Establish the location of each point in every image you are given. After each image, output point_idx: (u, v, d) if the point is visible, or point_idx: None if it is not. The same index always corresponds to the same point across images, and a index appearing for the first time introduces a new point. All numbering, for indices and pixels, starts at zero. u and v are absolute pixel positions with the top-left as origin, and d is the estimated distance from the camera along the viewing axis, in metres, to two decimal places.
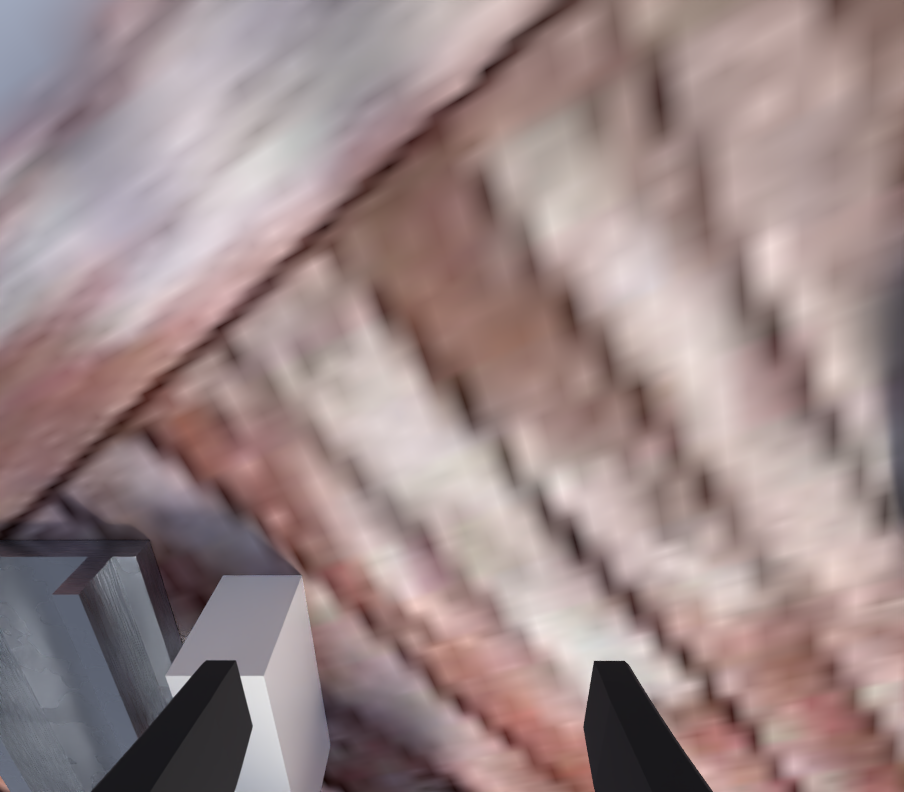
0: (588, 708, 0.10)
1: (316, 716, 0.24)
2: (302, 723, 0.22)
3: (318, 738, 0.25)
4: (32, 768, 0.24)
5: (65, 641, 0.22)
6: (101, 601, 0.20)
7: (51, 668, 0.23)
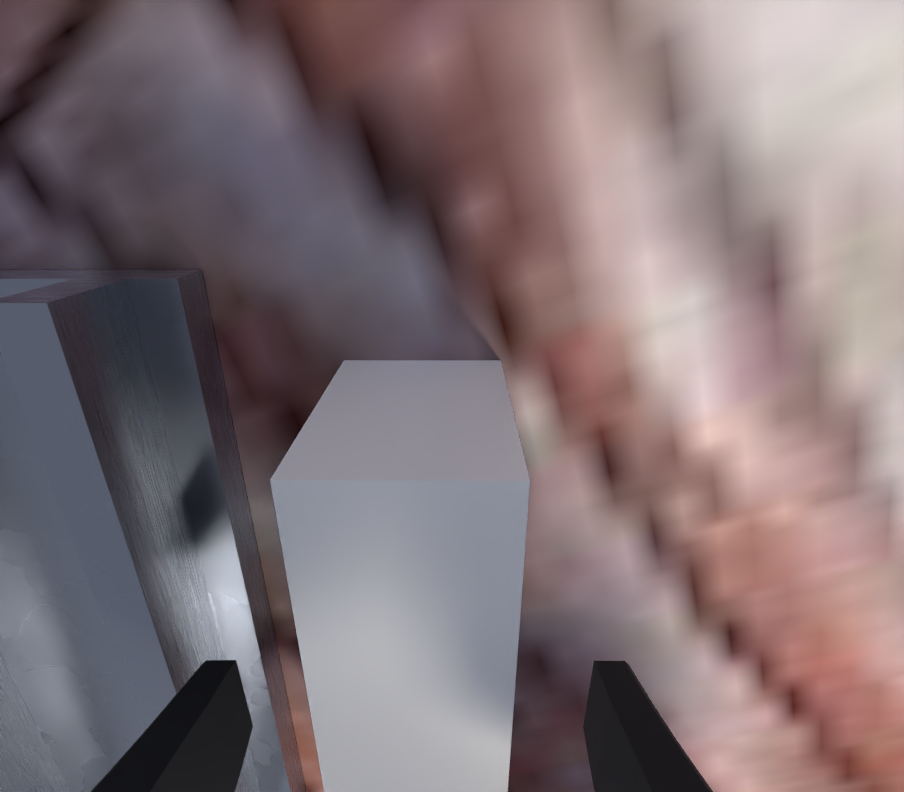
0: (588, 708, 0.10)
1: None
2: None
3: None
4: None
5: (30, 493, 0.11)
6: (102, 358, 0.09)
7: (5, 553, 0.12)
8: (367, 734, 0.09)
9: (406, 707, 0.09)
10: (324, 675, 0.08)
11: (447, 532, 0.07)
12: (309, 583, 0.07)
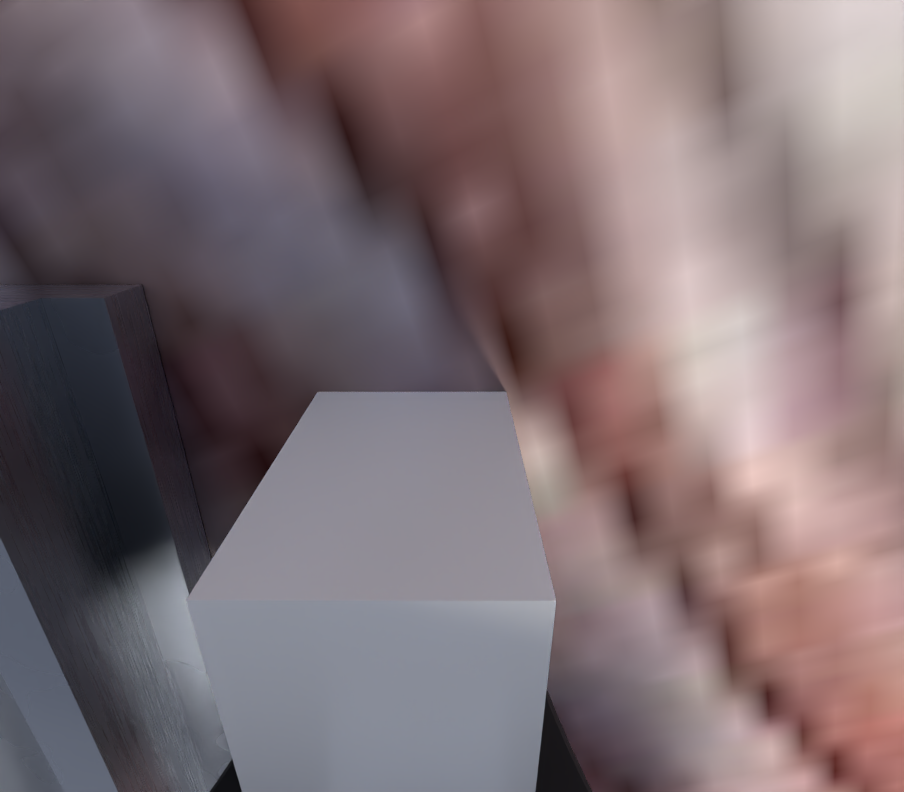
0: None
1: None
2: None
3: None
4: None
5: None
6: (3, 401, 0.07)
7: None
8: None
9: None
10: None
11: (439, 664, 0.05)
12: (252, 724, 0.05)
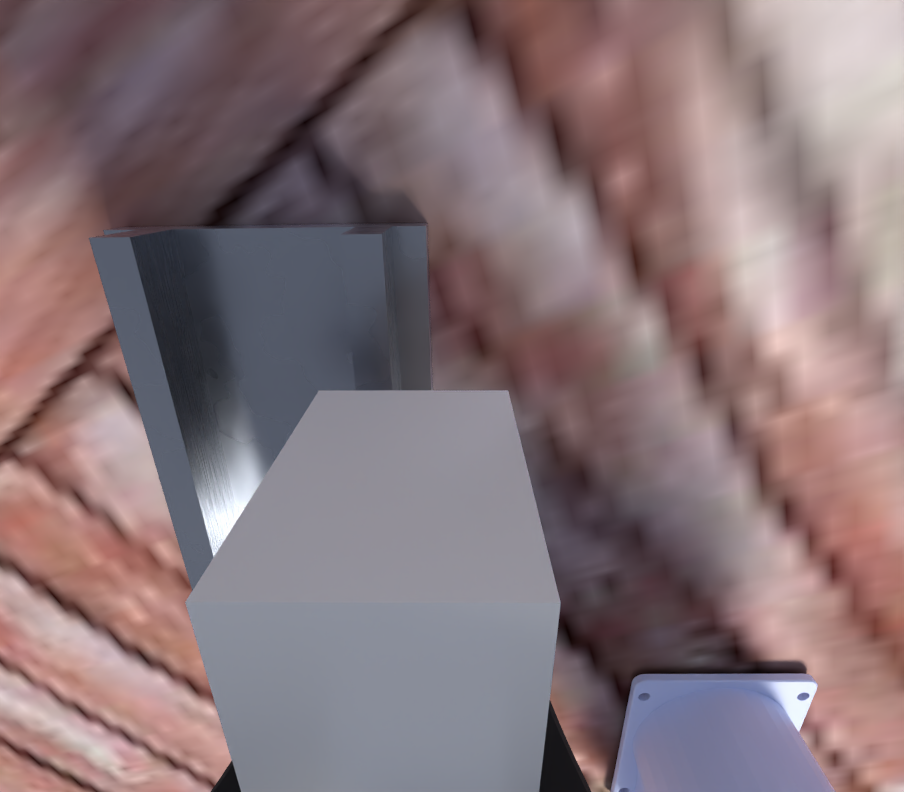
0: None
1: None
2: None
3: None
4: None
5: (290, 388, 0.16)
6: (389, 276, 0.13)
7: (262, 437, 0.17)
8: None
9: None
10: None
11: (441, 666, 0.05)
12: (252, 727, 0.05)
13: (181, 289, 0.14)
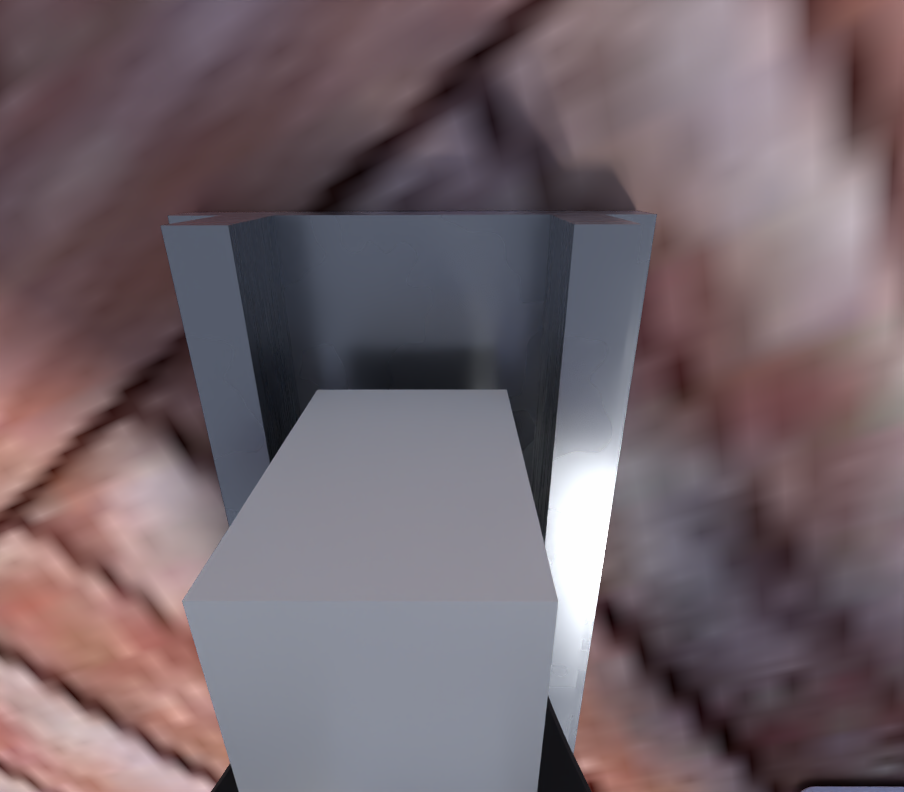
0: None
1: None
2: None
3: None
4: None
5: None
6: None
7: None
8: None
9: None
10: None
11: (439, 665, 0.05)
12: (249, 727, 0.05)
13: (281, 306, 0.10)
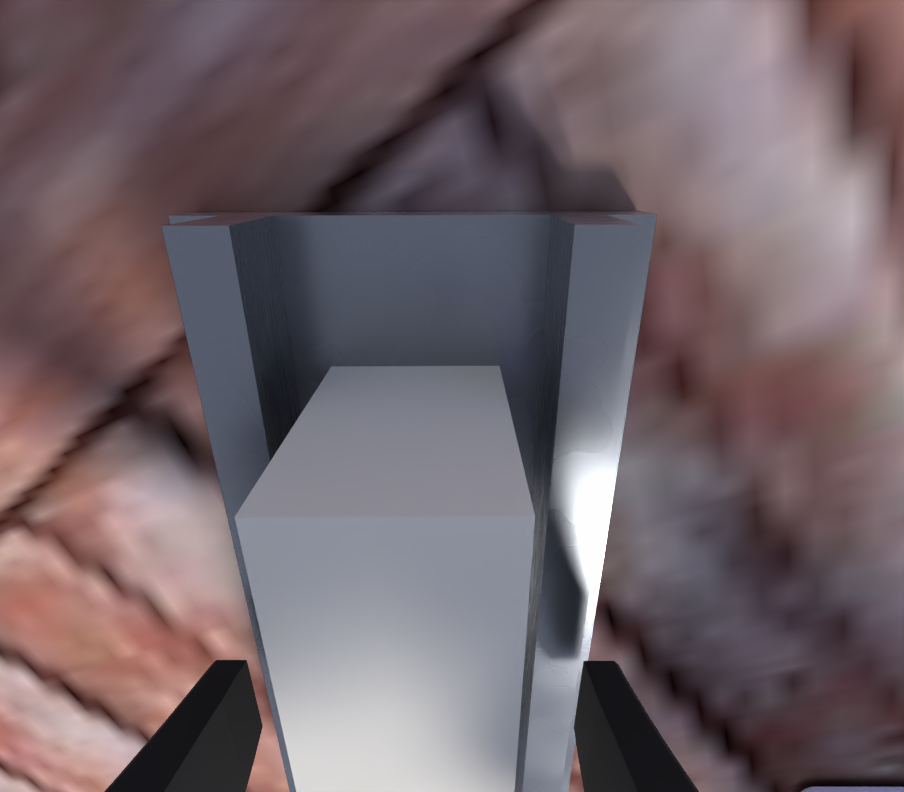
0: (578, 708, 0.10)
1: None
2: None
3: None
4: None
5: None
6: None
7: None
8: (354, 788, 0.08)
9: (398, 760, 0.08)
10: (305, 727, 0.07)
11: (439, 572, 0.06)
12: (284, 629, 0.07)
13: (281, 306, 0.10)
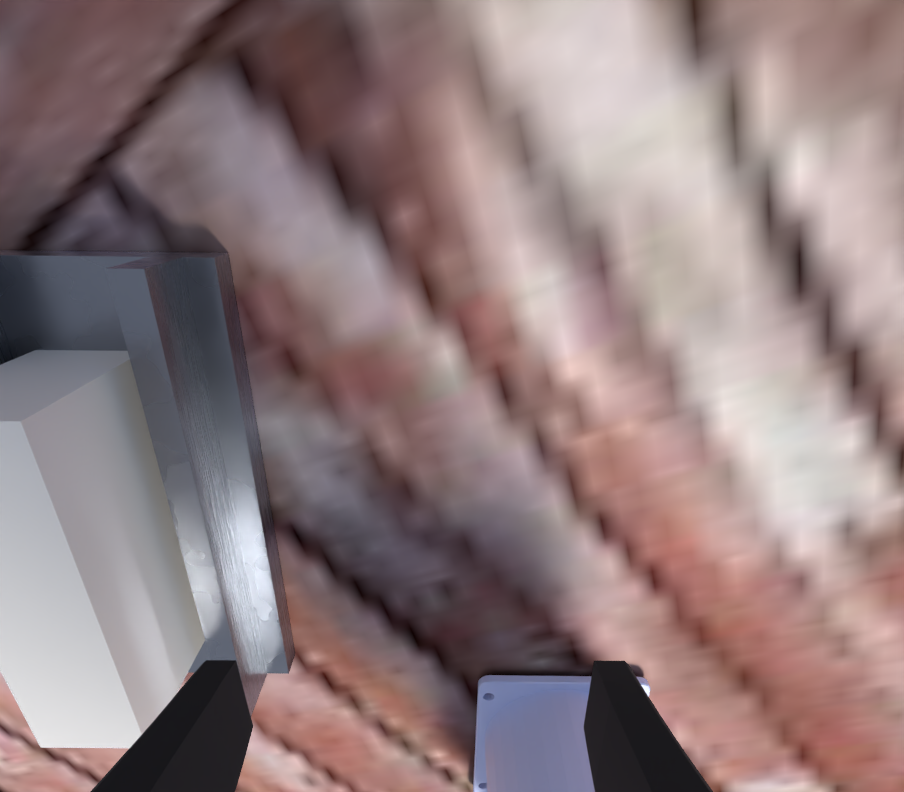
0: (588, 708, 0.10)
1: (177, 569, 0.18)
2: (139, 558, 0.16)
3: (182, 601, 0.18)
4: None
5: None
6: (169, 305, 0.14)
7: None
8: None
9: (12, 574, 0.13)
10: None
11: None
12: None
13: None
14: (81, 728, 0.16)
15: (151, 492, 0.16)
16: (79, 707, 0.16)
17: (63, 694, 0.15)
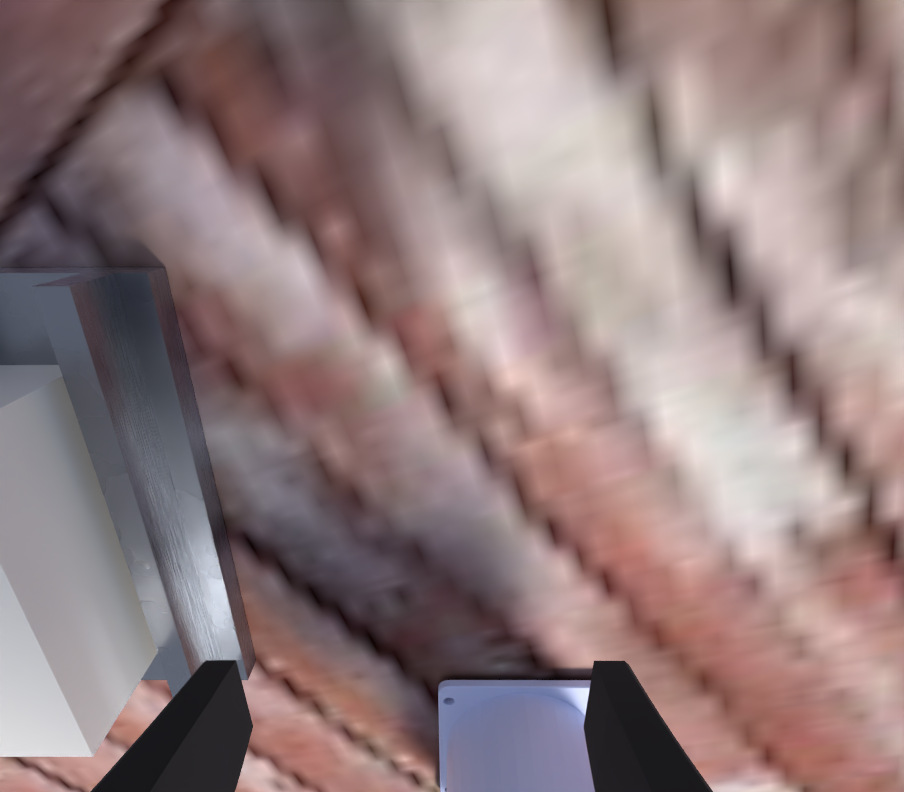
0: (588, 708, 0.10)
1: (126, 579, 0.18)
2: (81, 569, 0.16)
3: (132, 610, 0.19)
4: None
5: None
6: (101, 321, 0.14)
7: None
8: None
9: None
10: None
11: None
12: None
13: None
14: (26, 737, 0.16)
15: (94, 504, 0.17)
16: (22, 717, 0.16)
17: (5, 705, 0.15)
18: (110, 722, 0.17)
